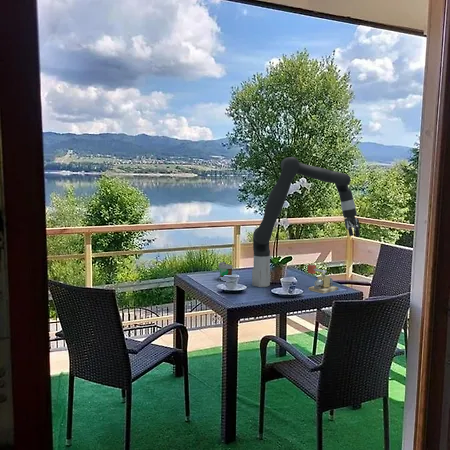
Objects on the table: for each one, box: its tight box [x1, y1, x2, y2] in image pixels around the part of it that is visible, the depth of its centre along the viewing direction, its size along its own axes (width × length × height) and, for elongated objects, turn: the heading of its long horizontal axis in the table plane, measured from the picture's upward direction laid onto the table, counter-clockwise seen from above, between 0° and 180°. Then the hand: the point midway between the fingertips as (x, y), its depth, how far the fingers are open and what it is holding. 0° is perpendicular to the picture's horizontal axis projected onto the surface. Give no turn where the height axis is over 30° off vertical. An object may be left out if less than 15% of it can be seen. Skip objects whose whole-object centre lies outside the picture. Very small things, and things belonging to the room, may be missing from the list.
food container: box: [217, 261, 233, 278], centre depth 284 cm, size 12×6×10 cm, turn 21°
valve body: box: [313, 275, 334, 289], centre depth 260 cm, size 12×4×6 cm, turn 130°
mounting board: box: [308, 285, 339, 294], centre depth 261 cm, size 13×10×2 cm
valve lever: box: [307, 264, 328, 276], centre depth 263 cm, size 12×3×5 cm, turn 40°
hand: (354, 236), depth 271 cm, fingers open, 8 cm apart
